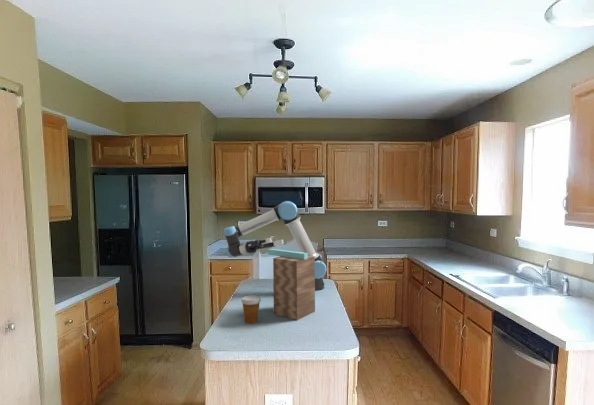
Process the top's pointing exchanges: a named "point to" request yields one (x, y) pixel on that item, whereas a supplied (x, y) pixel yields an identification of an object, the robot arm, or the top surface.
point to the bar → (288, 254)
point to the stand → (294, 286)
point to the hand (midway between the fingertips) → (277, 240)
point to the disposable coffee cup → (251, 308)
